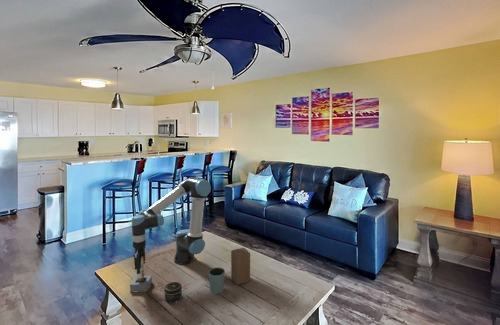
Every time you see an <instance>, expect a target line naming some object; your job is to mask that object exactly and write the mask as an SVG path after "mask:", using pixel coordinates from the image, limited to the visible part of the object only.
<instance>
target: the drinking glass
mask: <svg viewBox="0 0 500 325" xmlns="http://www.w3.org/2000/svg"><path fill="white" fill-rule="evenodd" d="M225 273H226V271H225V269H224V268H223V267H212V268H210V269H209V270H208V279H209V290H210V292H211V293H213V294H221V293H222V292H223V291H224V289H225V275H226V274H225Z"/></svg>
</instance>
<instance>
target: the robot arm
mask: <svg viewBox="0 0 500 325" xmlns="http://www.w3.org/2000/svg"><path fill="white" fill-rule="evenodd" d="M211 190H212V186H211V183H210V181H208V180H206V179H204V178H200V177H196V176H195V177H194V176H191V177H189V178H186V179H185V180H182V181H181V182H180V183H178V184H177V186H176V187H175V188H174V189H173V190H171V191H169V193H167V194H166V195H164V196H163V197H162V198H160V199H159V200H157V201H156V202H155V203H153V204H151V206H150V207H148V208H147V209H142V210H140V211H138V213H137V214H136V215H134V216H132V218H131V232H132V233H131V237H132V248H133V249H135V251H134V254H133V259H134V263H133V264H134V270H136V276H137V278H142V271H141V257H142V256H143V262H144V265H145V264H146V245H147V238H146V236H147V234H146V230H150V229H154V228H159V227H161V226H164V223H165V218H164V216H163V215H162V212H164V211H165V210H166V209H168V208H169V207H170V206H171V205H172V204H174V203H175V202H176V201H178V200H179V199H181V198H182V197H184V196H186V195H188V194H190V198H191V200H192V201H191V210H190V218H189V219H190V220H189V228H188V229H181V230H178V231H176V233H175V245H176V246H175V248H176V250H175V254H174V258H173V261H174V263H176V264H177V265H178V264H179V265H186V264H190V263H193V262H194V261H195V255H198V254H200V253H202V251H204V249H205V248H206V241H205V240H204V239H203V237H204V234H203V233H202V229H203V228H202V227H203V226H202V225H203V219H204V218H203V217H204V216H203V215H204V208H205V200H206V199H207V198H208V195H209V194H210V193H211Z"/></svg>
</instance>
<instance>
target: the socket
mask: <svg viewBox="0 0 500 325" xmlns="http://www.w3.org/2000/svg"><path fill="white" fill-rule="evenodd" d="M152 278H153V277H152V275H144V282H140V283H138V282H137V275H135V277H134V278H133V280H132V281H131V283H129V291H130V293H134V292H133V291H147V290H148V291H149V289H150V287H151V286H152V284H153V279H152ZM151 283H152V284H151ZM149 286H150V287H149ZM148 288H149V289H148ZM148 291H147V292H148Z"/></svg>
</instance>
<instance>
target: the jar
mask: <svg viewBox="0 0 500 325" xmlns="http://www.w3.org/2000/svg"><path fill="white" fill-rule="evenodd" d="M163 292H164V299H165V301H166V302H167V303H169V302H174V303H176V301H177V302H179V301H180V300H181V298H182V295H183V287H182V284H181V282H179V281H172V282H169V283H167V284H166V285H165V286H164V291H163ZM178 300H179V301H178Z"/></svg>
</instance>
